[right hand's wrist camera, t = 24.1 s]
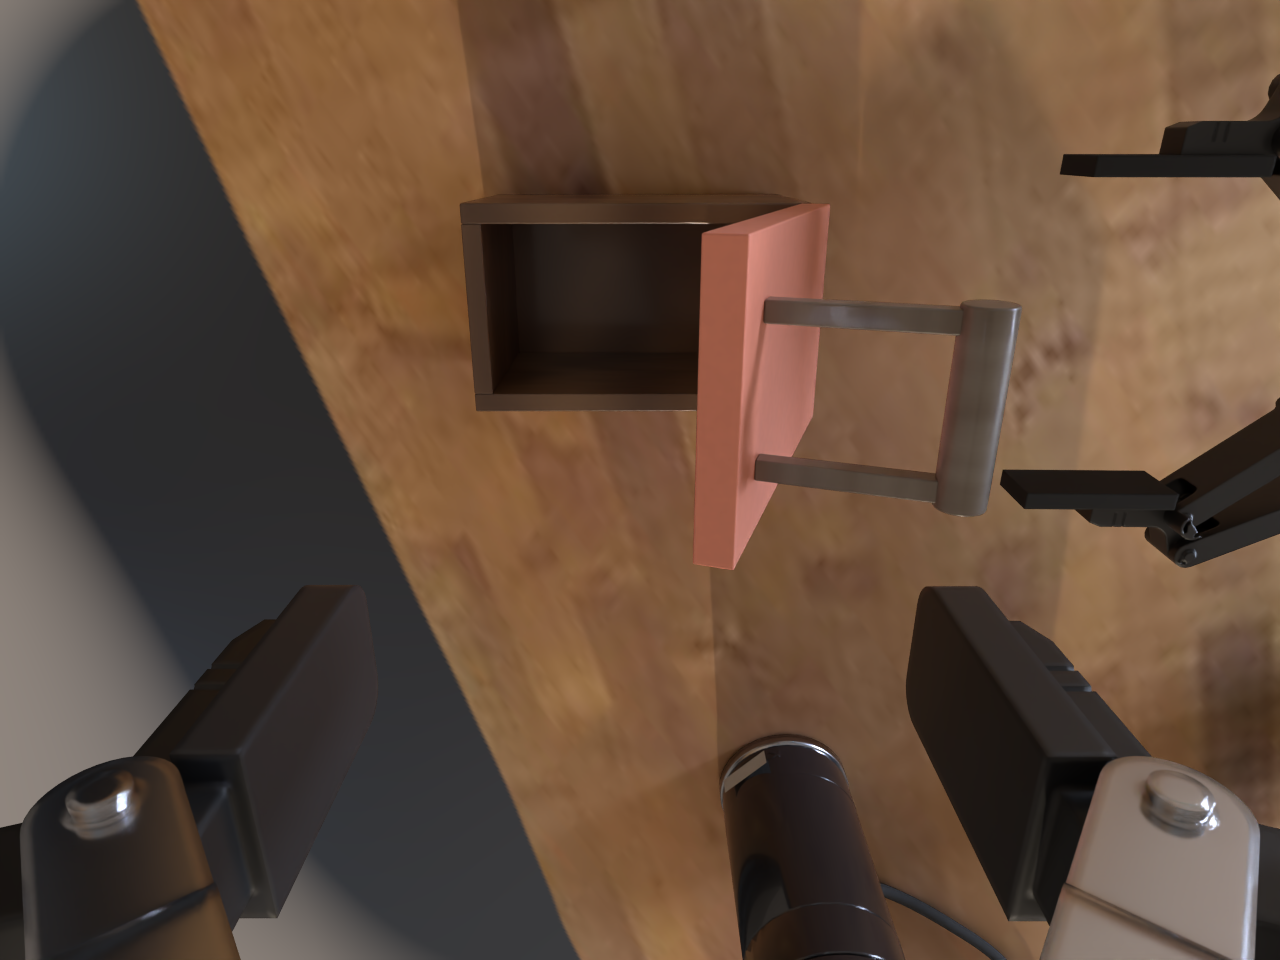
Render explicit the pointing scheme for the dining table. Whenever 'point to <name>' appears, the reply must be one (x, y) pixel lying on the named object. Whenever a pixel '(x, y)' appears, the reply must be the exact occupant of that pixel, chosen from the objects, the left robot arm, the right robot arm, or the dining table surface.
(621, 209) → the chest
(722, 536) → the lid
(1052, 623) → the dining table surface
